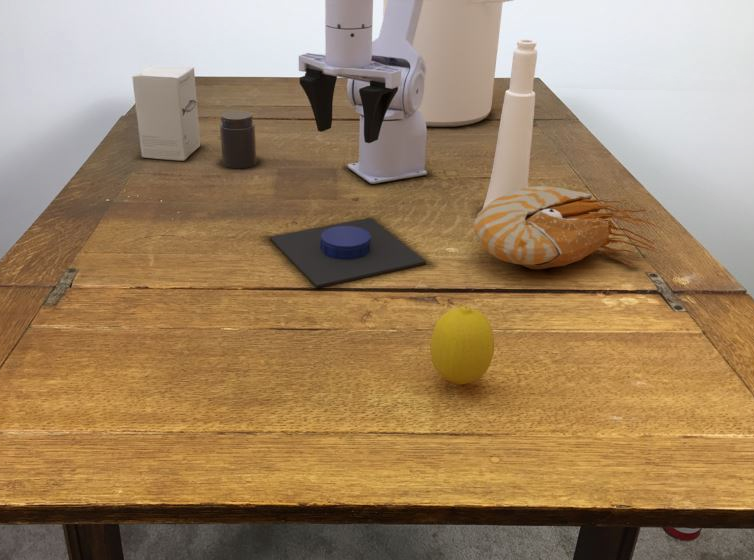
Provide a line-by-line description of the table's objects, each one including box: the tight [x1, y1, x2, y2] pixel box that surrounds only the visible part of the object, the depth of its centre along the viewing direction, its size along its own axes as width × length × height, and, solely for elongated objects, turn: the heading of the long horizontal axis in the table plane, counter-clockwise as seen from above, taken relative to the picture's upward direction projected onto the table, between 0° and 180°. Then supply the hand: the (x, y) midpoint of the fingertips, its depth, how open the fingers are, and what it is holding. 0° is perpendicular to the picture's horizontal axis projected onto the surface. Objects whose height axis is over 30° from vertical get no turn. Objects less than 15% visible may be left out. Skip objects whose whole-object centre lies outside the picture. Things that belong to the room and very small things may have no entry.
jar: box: [219, 110, 257, 170], centre depth 119 cm, size 5×5×7 cm
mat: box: [269, 217, 427, 289], centre depth 94 cm, size 14×14×1 cm
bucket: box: [382, 0, 514, 128], centre depth 138 cm, size 26×22×25 cm
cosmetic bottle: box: [482, 39, 538, 210], centre depth 98 cm, size 6×6×22 cm
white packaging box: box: [131, 64, 201, 162], centre depth 121 cm, size 7×7×13 cm
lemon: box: [429, 305, 495, 386], centre depth 69 cm, size 6×6×8 cm
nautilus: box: [473, 185, 661, 270], centre depth 91 cm, size 8×22×15 cm
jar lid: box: [321, 226, 371, 259], centre depth 94 cm, size 6×6×2 cm
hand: (347, 135), depth 102 cm, fingers open, 7 cm apart
